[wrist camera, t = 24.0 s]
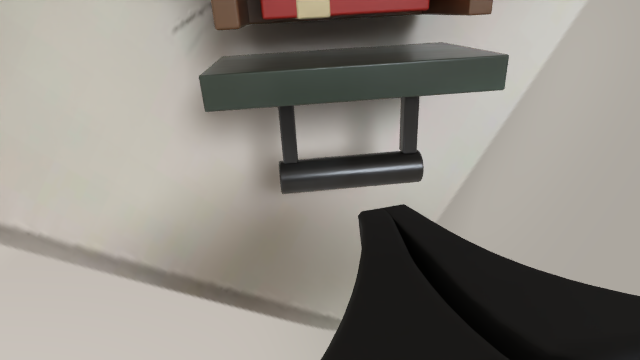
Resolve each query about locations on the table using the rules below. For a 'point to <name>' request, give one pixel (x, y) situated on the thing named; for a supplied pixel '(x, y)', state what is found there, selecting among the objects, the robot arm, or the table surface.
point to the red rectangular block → (335, 8)
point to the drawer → (348, 90)
